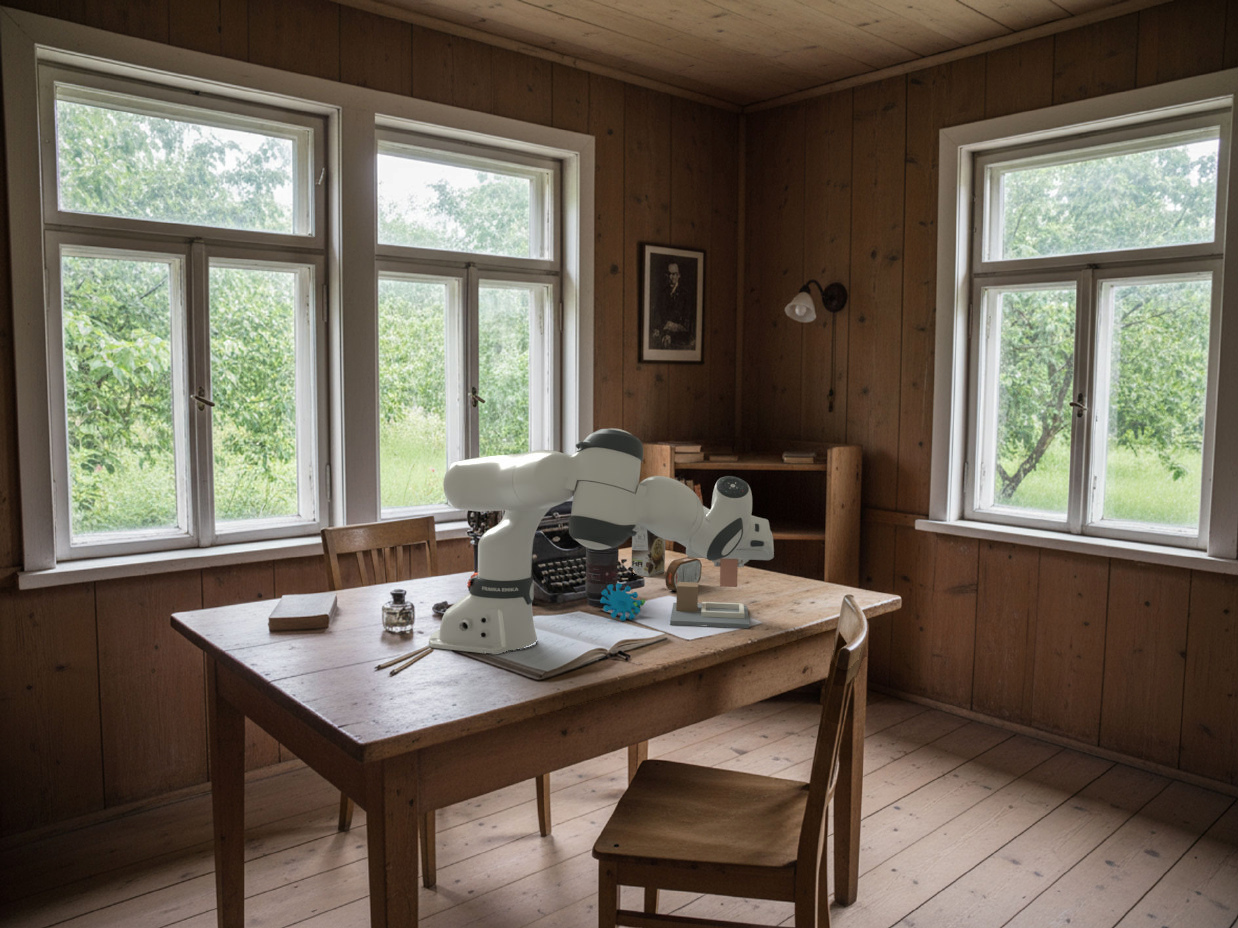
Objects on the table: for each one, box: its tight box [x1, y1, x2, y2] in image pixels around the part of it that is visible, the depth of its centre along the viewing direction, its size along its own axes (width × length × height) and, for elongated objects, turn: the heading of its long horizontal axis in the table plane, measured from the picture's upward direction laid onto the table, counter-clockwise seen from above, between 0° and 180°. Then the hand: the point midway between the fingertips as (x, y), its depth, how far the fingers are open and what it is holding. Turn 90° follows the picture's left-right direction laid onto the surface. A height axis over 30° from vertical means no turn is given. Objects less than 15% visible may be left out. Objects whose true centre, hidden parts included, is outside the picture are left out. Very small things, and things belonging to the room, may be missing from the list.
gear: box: [600, 582, 646, 622], centre depth 221 cm, size 11×6×10 cm
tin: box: [664, 556, 703, 592], centre depth 252 cm, size 15×3×8 cm, turn 144°
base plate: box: [669, 582, 751, 629], centre depth 221 cm, size 18×18×7 cm
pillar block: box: [719, 559, 739, 588], centre depth 220 cm, size 4×4×8 cm
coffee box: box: [630, 525, 666, 578], centre depth 271 cm, size 9×6×16 cm
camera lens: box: [584, 546, 620, 607], centre depth 233 cm, size 8×8×15 cm
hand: (728, 564), depth 220 cm, fingers closed on pillar block, 4 cm apart
